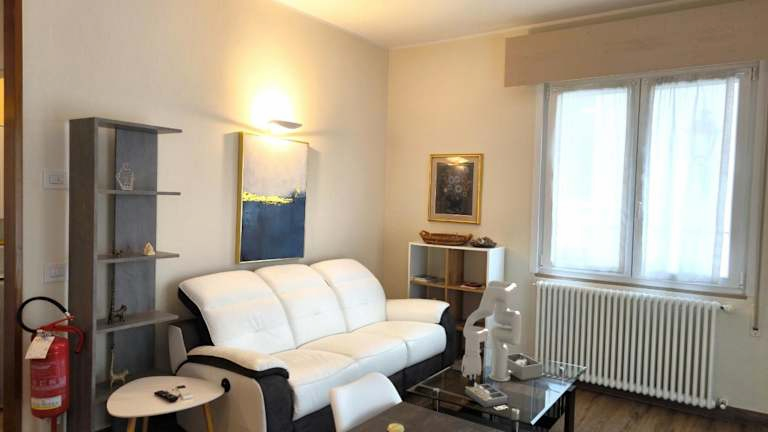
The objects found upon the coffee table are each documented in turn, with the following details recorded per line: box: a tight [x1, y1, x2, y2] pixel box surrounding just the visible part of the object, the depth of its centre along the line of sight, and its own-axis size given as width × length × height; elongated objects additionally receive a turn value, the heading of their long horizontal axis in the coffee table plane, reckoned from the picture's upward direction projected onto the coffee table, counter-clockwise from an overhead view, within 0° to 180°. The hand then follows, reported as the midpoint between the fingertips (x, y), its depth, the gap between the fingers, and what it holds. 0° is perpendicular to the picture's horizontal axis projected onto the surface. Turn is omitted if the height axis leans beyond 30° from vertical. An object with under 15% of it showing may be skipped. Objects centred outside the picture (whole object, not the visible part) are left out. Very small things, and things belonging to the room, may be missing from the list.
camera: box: [515, 352, 528, 366], centre depth 333 cm, size 15×8×10 cm, turn 148°
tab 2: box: [476, 386, 484, 395], centre depth 292 cm, size 4×4×5 cm
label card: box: [493, 404, 509, 411], centre depth 281 cm, size 7×4×1 cm, turn 113°
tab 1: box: [470, 382, 479, 391], centre depth 297 cm, size 4×4×5 cm
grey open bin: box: [508, 352, 543, 381], centre depth 333 cm, size 15×22×8 cm
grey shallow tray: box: [464, 382, 510, 408], centre depth 294 cm, size 15×20×4 cm
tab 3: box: [481, 390, 491, 399], centre depth 286 cm, size 4×4×5 cm
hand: (471, 386), depth 289 cm, fingers closed
